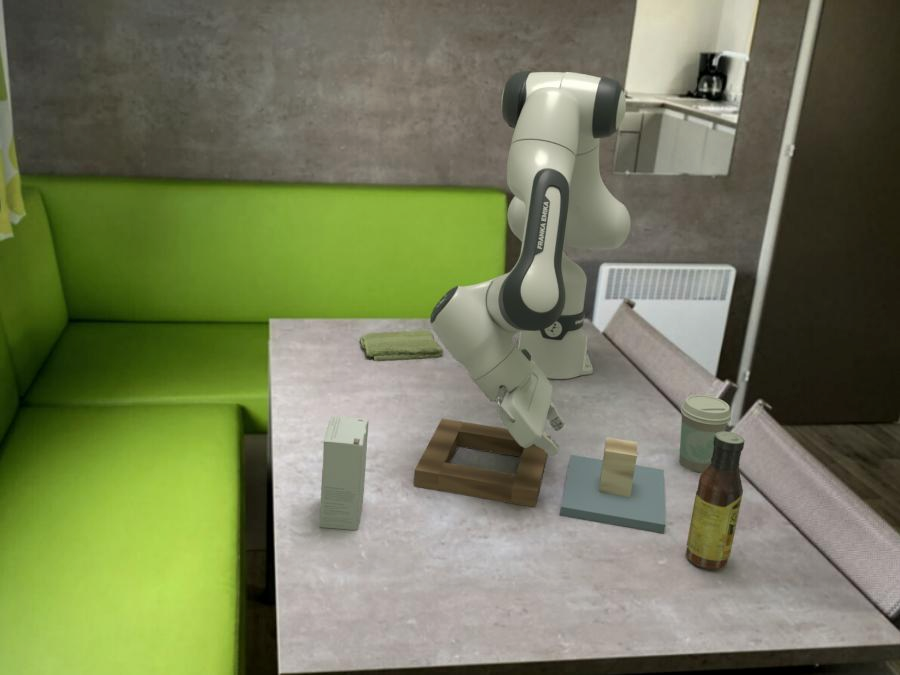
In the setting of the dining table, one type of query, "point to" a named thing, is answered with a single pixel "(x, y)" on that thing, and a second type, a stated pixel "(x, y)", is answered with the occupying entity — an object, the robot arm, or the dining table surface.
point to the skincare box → (343, 473)
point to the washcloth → (401, 345)
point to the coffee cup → (701, 429)
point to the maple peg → (618, 467)
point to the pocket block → (476, 481)
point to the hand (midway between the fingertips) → (558, 439)
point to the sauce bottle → (717, 505)
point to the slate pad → (614, 496)
